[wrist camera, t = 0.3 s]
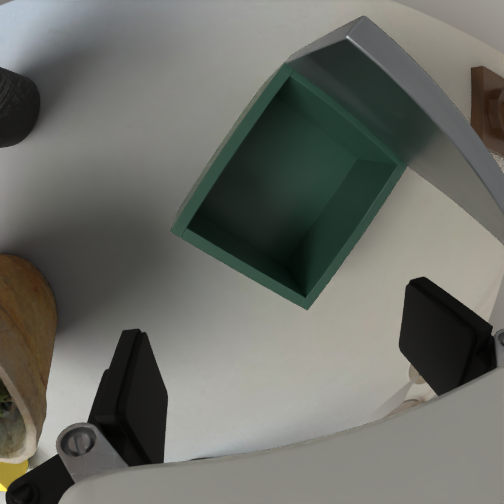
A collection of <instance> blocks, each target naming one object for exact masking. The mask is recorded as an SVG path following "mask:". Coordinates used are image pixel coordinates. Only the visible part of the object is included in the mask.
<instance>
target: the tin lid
mask: <svg viewBox="0 0 504 504" xmlns="http://www.w3.org/2000/svg"><path fill="white" fill-rule="evenodd" d="M285 64H287V65H288V66H289V67H291V68H292V69H294V70H295V71H297V72H298V73H299V74H301V75H302V76H303V77H305V78H306V79H308V80H309V81H310V82H312V83H313V84H314V85H316V86H317V87H318V88H320V89H321V90H322V91H323V92H325V93H326V94H327V95H329V96H330V97H331V98H332V99H334V100H335V101H336V102H337V103H339V104H340V105H341V106H342V107H343V108H345V109H346V110H347V111H348V112H350V113H351V114H352V115H353V116H354V117H355V118H357V119H358V120H359V121H360V122H361V123H362V124H364V125H365V126H366V127H367V128H368V129H369V130H370V131H371V132H373V133H374V134H375V135H376V136H377V137H378V138H379V139H380V140H381V141H382V142H384V143H385V144H386V145H387V146H388V147H389V148H390V149H391V150H392V151H393V152H394V153H395V154H396V155H397V156H398V157H399V158H400V159H401V160H402V161H403V162H404V163H405V164H406V165H407V166H408V167H409V168H411V169H412V170H414V171H415V172H416V173H418V174H419V175H420V176H422V177H423V178H424V179H426V180H427V181H428V182H430V183H431V184H432V185H434V186H435V187H436V188H438V189H439V190H440V191H442V192H443V193H444V194H445V195H447V196H448V197H449V198H450V199H452V200H453V201H454V202H455V203H457V204H458V205H459V206H460V207H461V208H463V209H464V210H465V211H466V212H467V213H469V214H470V215H471V216H472V217H473V218H474V219H476V220H477V221H478V222H479V223H480V224H481V225H482V226H484V227H485V228H486V229H487V230H488V231H489V232H490V233H491V234H492V235H494V236H495V237H496V238H497V239H498V240H499V241H500V242H501V243H502V244H503V245H504V174H503V172H502V171H501V169H500V167H499V166H498V164H497V163H496V161H495V160H494V158H493V156H492V155H491V153H490V152H489V150H488V149H487V148H486V146H485V145H484V143H483V142H482V140H481V139H480V138H479V136H478V135H477V133H476V132H475V131H474V129H473V128H472V127H471V125H470V124H469V123H468V121H467V120H466V119H465V117H464V116H463V115H462V114H461V112H460V111H459V110H458V109H457V107H456V106H455V105H454V104H453V102H452V101H451V100H450V99H449V98H448V96H447V95H446V94H445V93H444V92H443V91H442V89H441V88H440V87H439V86H438V85H437V84H436V83H435V82H434V80H433V79H432V78H431V77H430V76H429V75H428V74H427V73H426V72H425V71H424V70H423V69H422V68H421V67H420V66H419V64H418V63H417V62H416V61H415V60H414V59H413V58H412V57H411V56H410V55H409V54H408V53H407V52H405V51H404V50H403V49H402V48H401V47H400V46H399V45H398V44H397V43H396V42H395V41H394V40H393V39H392V38H391V37H389V36H388V35H387V34H386V33H385V32H384V31H383V30H382V29H380V28H379V27H378V26H377V25H376V24H375V23H373V22H372V21H371V20H370V19H369V18H367V17H366V16H361V17H359V18H357V19H355V20H353V21H351V22H349V23H347V24H345V25H343V26H342V27H340V28H338V29H336V30H334V31H332V32H330V33H328V34H327V35H325V36H323V37H321V38H319V39H318V40H316V41H314V42H312V43H311V44H309V45H307V46H305V47H304V48H302V49H300V50H299V51H297V52H295V53H294V54H292V55H291V56H290V57H289V58H288V60H287V61H286V62H285Z"/></svg>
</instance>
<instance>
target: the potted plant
mask: <svg viewBox="0 0 504 504" xmlns="http://www.w3.org/2000/svg"><path fill="white" fill-rule="evenodd" d="M57 323H58V315H57V309H56V303H55V298H54V296H53V294H52V291H51V289H50V286H49V284H48V282H47V281H46V280H45V278H44V277H43V276H42V274H41V273H40V271H39V270H38V269H37V268H36V267H35V266H34V265H33V264H31V263H30V262H29V261H27V260H25V259H23V258H20V257H18V256H15V255H9V254H0V462H6V463H11V464H17V463H22V462H23V461H25V460H26V459H28V458H30V457H31V456H33V455H34V454H35V451H36V447H37V444H38V441H39V438H40V435H41V432H42V427H43V423H44V421H45V418H46V408H47V402H46V390H47V383H48V378H49V372H50V366H51V361H52V355H53V348H54V341H55V334H56V328H57Z"/></svg>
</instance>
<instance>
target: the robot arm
mask: <svg viewBox="0 0 504 504" xmlns="http://www.w3.org/2000/svg"><path fill="white" fill-rule="evenodd" d="M492 329H493V326H491V325H490V324H489V323H488V322H486V321H485V320H484V319H482V318H481V317H480V316H478V315H477V314H476V313H474V312H473V311H472V310H470V309H469V308H468V307H466V306H465V305H464V304H462V303H461V302H460V301H458V300H457V299H456V298H454V297H453V296H451V295H450V294H449V293H447V292H446V291H444V290H443V289H442V288H440V287H439V286H437V285H436V284H435V283H433V282H432V281H430V280H429V279H427V278H426V277H420V278H416V279H412V280H410V282H409V284H408V285H407V286H406V289H405V299H404V308H403V316H402V324H401V331H400V338H399V349H400V351H401V352H402V354H403V355H404V356H405V357H406V358H407V359H408V361H409V362H410V363H411V364H412V365H413V366H414V368H415V369H416V370H417V371H418V372H419V374H420V375H421V376H422V377H423V378H424V380H425V381H426V382H427V383H428V384H429V386H430V387H431V388H432V389H433V390H434V392H435V393H436V394H437V395H438V397H436V398H434V399H431V400H429V401H426V402H424V403H422V404H419V405H417V406H414V407H412V408H409V409H407V410H404V411H401V412H399V413H396V414H393V415H391V416H388V417H385V418H382V419H380V420H377V421H374V422H371V423H368V424H365V425H362V426H358V427H355V428H352V429H349V430H345V431H342V432H339V433H335V434H331V435H328V436H324V437H320V438H316V439H312V440H308V441H304V442H300V443H296V444H291V445H287V446H282V447H277V448H272V449H267V450H262V451H256V452H250V453H244V454H238V455H231V456H224V457H217V458H209V459H201V460H192V461H181V462H170V463H164V447H165V431H166V418H167V406H168V394H167V390H166V387H165V385H164V382H163V379H162V377H161V374H160V371H159V368H158V365H157V363H156V360H155V357H154V354H153V351H152V348H151V345H150V342H149V339H148V336H147V334H146V332H141V330H140V329H130V330H123V331H122V334H121V336H120V339H119V342H118V344H117V347H116V350H115V353H114V356H113V358H112V361H111V364H110V367H109V369H107V370H105V371H104V373H103V376H102V379H101V382H100V384H99V387H98V390H97V393H96V396H95V399H94V402H93V405H92V409H91V412H90V415H89V418H88V421H87V423H76V424H73V425H70V426H68V427H67V428H66V429H64V430H63V431H62V432H61V433H60V434H59V436H58V438H57V440H56V449H57V452H58V454H57V455H55V456H54V457H52V458H50V459H49V460H47V461H46V462H44V463H42V464H41V465H39V466H37V467H36V468H34V469H32V470H31V471H29V472H27V473H26V474H24V475H22V476H21V477H19V478H17V479H16V480H14V481H13V482H12V483H11V484H10V485H9V487H8V488H7V491H6V503H7V504H504V329H501V330H499V331H497V332H496V334H495V335H494V337H493V336H492V335H491V332H492Z"/></svg>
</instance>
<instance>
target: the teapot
mask: <svg viewBox="0 0 504 504" xmlns="http://www.w3.org/2000/svg"><path fill="white" fill-rule="evenodd" d="M27 469H28V459H26V460H25V461H23V462H22V463H17V464H11V463H6V462H0V491H7V488H8V487H9V485H10V484H11V483H12V482H13V481H14V480H16V479H17V478H19V477H21V476H22V475H24V474H25V473H26V471H27Z"/></svg>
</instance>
